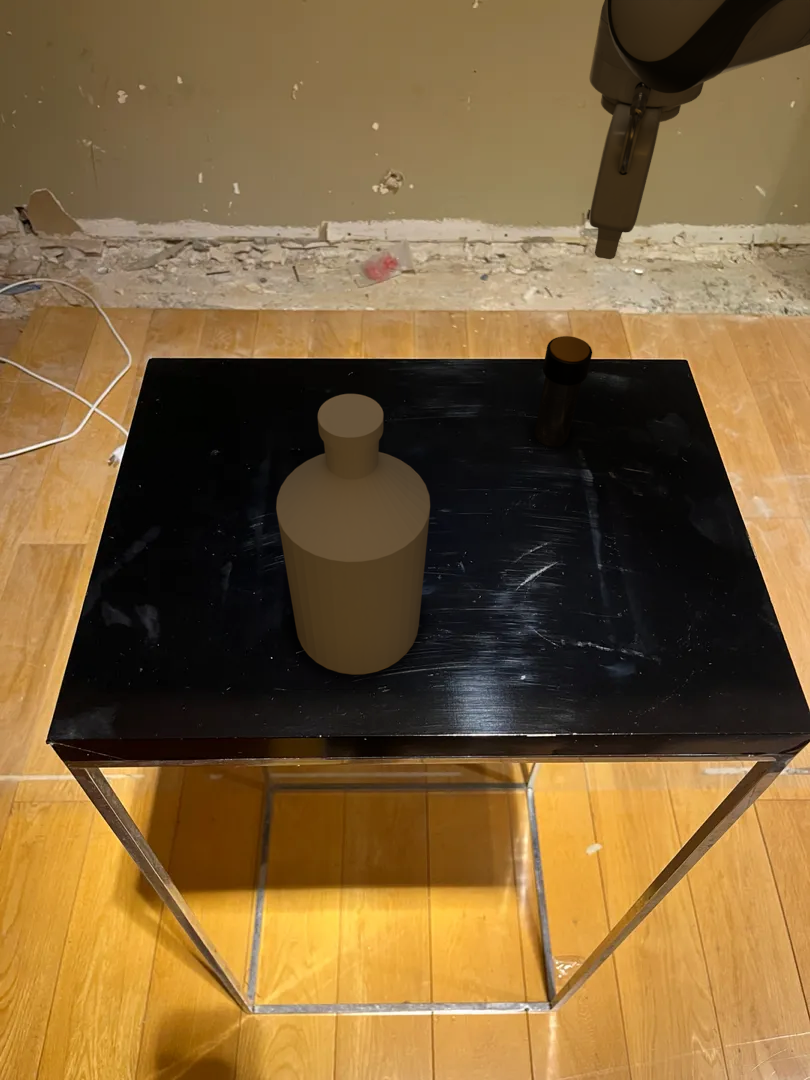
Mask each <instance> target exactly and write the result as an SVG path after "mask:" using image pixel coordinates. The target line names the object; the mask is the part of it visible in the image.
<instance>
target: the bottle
mask: <svg viewBox="0 0 810 1080" xmlns="http://www.w3.org/2000/svg"><path fill="white" fill-rule="evenodd" d="M317 427H318V434H319V437H320V439H321V440H322V441H323V447H324V453H321V454H319V455H316V456H314V457H312V458H310V459H307V460H306V461H304V462H303V463H301V464H300V465H298V466H297V467H296V468H294V470H292V472H290V473H289V474H288V475H287V476H286V478H285V480H284V481H283V483H282V484H281V486H280V488H279V491H278V493H277V496H276V504H275V505H276V508H275V511H276V515H277V522H278V528H279V535H280V540H281V546H282V553H283V558H284V564H285V569H286V570H285V571H286V577H287V582H288V589H289V594H290V600H291V606H292V611H293V618H294V623H295V631H296V636H297V639H298V641H299V644H300V646H301V647H302V649H303V650H304V652H305V653H306V654H307V655H308V657H310V658H311V659H312V660H313V661H314V662H315V663H316V664H318V665H320V666H322V667H323V668H325V669H326V670H330V671H332V672H336V673H340V674H346V675H367V674H368V675H369V674H372V673H376V672H380V671H382V670H384V669H387V668H389V667H391V666H393V665H394V664H396V663H398V662H399V661H400V660H401V659H402V658H404V656H406V655H407V653H409V651H410V649H411V648H412V647H413V645H414V643H415V642H416V638H417V637H418V632H419V627H420V617H421V616H420V615H421V607H422V606H421V605H422V595H423V585H424V575H425V565H426V555H427V546H428V545H427V544H428V536H429V535H428V533H429V523H430V513H431V497H430V493H429V490H428V487H427V485H426V483H425V482H424V480H423V479H422V477H421V476H420V474H419V473H418V472H417V471H415V470H414V468H412V466H410V465H408V464H407V463H406V462H404V461H402V460H401V459H399V458H397V457H396V456H392V455H391V454H388V453H384V452H381V451H379V448H380V440H381V438H382V436H383V434H384V411H383V408H382V406H381V405H380V403H378V402H377V401H376V400H375V399H373V398H371V397H369V396H366V395H364V394H358V393H344V394H339V395H335V396H333V397H331V398H329V399H327V400H326V401H324V402H323V403H322V404H321V406H320V407H319V410H318V412H317Z"/></svg>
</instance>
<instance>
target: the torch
mask: <svg viewBox="0 0 810 1080" xmlns="http://www.w3.org/2000/svg"><path fill="white" fill-rule="evenodd" d="M545 350H546V351H545V356H544V359H543V365H542V371H543V374H544V381H543V387H542V392H541V397H540V401H539V406H538V411H537V417H536V422H535V427H534V435H533V436H534V438H535V439H536V440H537V442H538V443H540V444H542V445H543V446H546V447H551V448H552V447H553V448H556V447H560V446H563V445H564V444H566V443H567V441H568V440H569V435H570V432H571V428H572V423H573V420H574V415H575V411H576V406H577V402H578V397H579V394H580V391H581V390H580V389H581V386H582V383H583V382H584V381H585V380H586V379H587V377H588V373H589V369H590V365H591V360H592V356H593V349H592V347H591V345H590V344H589V343H588V342H587V341H585V340H584V339H581V338H579V337H576V336H570V335H563V336H558V337H555V338H553V339H551V340H550V341H549V342H548V344H547V345H546V349H545Z"/></svg>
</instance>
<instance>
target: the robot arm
mask: <svg viewBox="0 0 810 1080" xmlns="http://www.w3.org/2000/svg"><path fill="white" fill-rule="evenodd" d="M595 38H596V39H595V44H594V48H593V55H592V59H591V65H590V66H591V67H590V72H589V82H590V85H591V86H592V87H593V88H594V89H595V91H597V93H600V94H601V97H600V105H601V107H602V108H603V110H604V111H606V112H607V113H608V114H610V115H611V119H610V122H609V126H608V129H607V132H606V137H605V140H604V145H603V149H602V152H601V156H600V157H601V158H600V162H599V167H598V171H597V177H596V179H595V185H594V191H593V194H592V195H593V196H592V200H591V204H590V209H589V217H588V218H589V220H588V221H589V225H590V226H591V227H592V228H595V229H597V239H596V244H595V248H594V249H595V250H594V255H595V256H596V258H600V259H605V260H613V259H615V257H616V256H617V252H618V246H619V243H620V240H621V237H622V235H623V233H631V232H632V231H633V230H634V227H635V226H636V223H637V220H638V216H639V211H640V208H641V203H642V200H643V197H644V196H643V195H644V191H645V188H646V183H647V179H648V175H649V172H650V167H651V164H652V160H653V156H654V151H655V147H656V144H657V138H658V134H659V129H660V124H661V123H663V122H667V121H670V120H672V119H674V118H676V116H678V115H679V114H680V110H681V106H683V105H685V104H688V103H691V102H693V101H695V100H696V99H697V98H698V97H699V96H700V95H701V93H702V91H703V89H704V83H705V82H708V81H710V80H712V79H714V78H716V77H718V76H720V75H722V74H726V73H728V72H732V71H734V70H738V69H741V68H745V67H748V66H750V65H754V64H757V63H759V62H762V61H766V60H769V59H770V60H771V59H772V58H776V57H777V56H781V55H783V54H784V55H785V54H786V53H790V52H793V51H795V50H798V49H801V48H804V47H806V46H810V0H604V1H603V4H602V7H601V11H600V16H599V22H598V28H597V33H596V37H595Z"/></svg>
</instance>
